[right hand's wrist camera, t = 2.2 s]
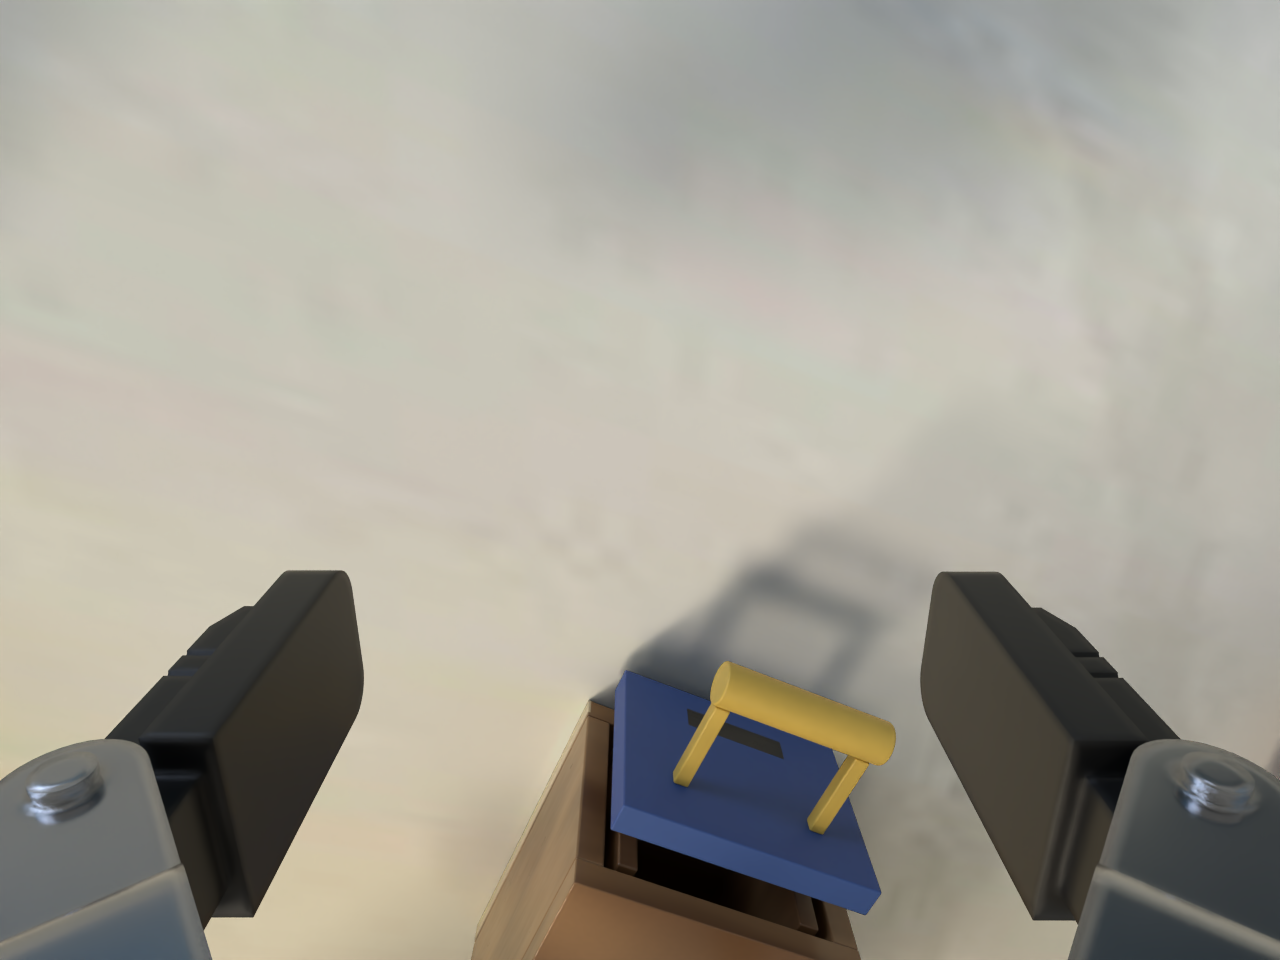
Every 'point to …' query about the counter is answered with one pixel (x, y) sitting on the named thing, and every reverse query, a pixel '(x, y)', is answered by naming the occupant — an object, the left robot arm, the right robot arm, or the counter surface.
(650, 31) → the counter surface
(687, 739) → the drawer
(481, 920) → the cabinet
